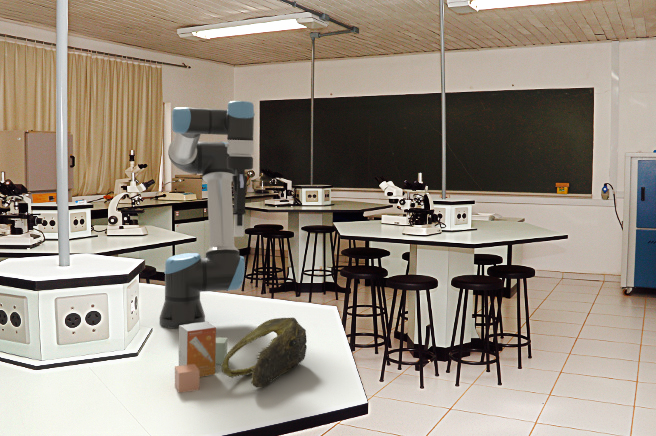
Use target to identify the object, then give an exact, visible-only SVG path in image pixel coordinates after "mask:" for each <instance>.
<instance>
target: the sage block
mask: <svg viewBox="0 0 656 436" xmlns="http://www.w3.org/2000/svg"><path fill="white" fill-rule="evenodd" d="M227 354H228V337H219V336H216V360H215V365H222V363H223V361H224V359H225V357H226V355H227Z"/></svg>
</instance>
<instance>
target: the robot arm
mask: <svg viewBox="0 0 656 436" xmlns="http://www.w3.org/2000/svg"><path fill="white" fill-rule="evenodd" d="M254 121H255V107H254V103H253V102H251V101H246V100H245V101H244V100H231V101H229V102H228V103H227V109H224V108H223V109H220V108H202V107H201V108H199V107H187V106H186V107H185V106H184V107H174V108H173V109H172V112H171V130H172V131H173V132H174V133H175V134H174V138H173V140H172V141H171V143H170V144H169V146H168V149H167V155H168V158H169V160H170V162H171V163H172V164H173V165H174V166H175V168H177V169H179V170H181V171H182V172H185V173H188V174H194V175H195V174H196V175H202V180H203V181H204V182H205V183H206V186H207V187H206V188H207V190H206V191H207V211H208V234H209V248H208V249H207V251H205V257H201V254H200V253H197V252H187V253H186V252H185V253H180V254H176V255H173V256H169V257H168V258H167V259H166V260H165V264H164V272H163V273H164V274H165V275H164V302H163V306H162V308H161V311H160V315H159V325H161V326H162V327H164V328H170V329H179V325H186V324H192V323H201V322H206V315H205V310H204V309H203V304H202V302H201V293H202V292H222V291H223V292H224V291H226V292H228V291H237V290H239V289H240V288H241V287H242V285H243V282H244V278H245V277H244V276H245V272H246V271H245V270H246V269H245V268H246V267H245V266H246V265H245V264H246V263H245V262H246V261H245V257H244V256H242V255H240V250H239V249H238V248H237V247H236V245H235V238H242V237H245V214H246V193H247V184H248V176H247V175H246V171H248V170H253V169H254V157H253V156H252V155H254V146H255V145H254V144H255V143H254V142H255V141H254V131H255V130H254V128H255V127H254V126H255V124H254V123H255V122H254ZM201 135H218V136H219V135H222V136H223V135H225V136H227V138H226V140H227V141H226V142H225V141H199V140H200V138H201ZM232 184H233V186H232ZM232 192H233V193H232ZM232 195H233V196H232Z"/></svg>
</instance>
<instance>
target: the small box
mask: <svg viewBox="0 0 656 436" xmlns="http://www.w3.org/2000/svg"><path fill="white" fill-rule="evenodd" d="M216 337H217V327H216V326H215V325H213V324H212V323H210V322H209V321H205V322H201V323H192V324H186V325H179V328H178V366H182V365H190V364H195V365H196V366H197V368H198V369H199V378H202V377H209V376H213V375H215V374H216V364H215V360H216Z"/></svg>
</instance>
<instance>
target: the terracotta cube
mask: <svg viewBox="0 0 656 436" xmlns="http://www.w3.org/2000/svg"><path fill="white" fill-rule="evenodd" d="M174 387H175V389H176V390H177V392H178V393H186V392H193V391H198V390H199V391H200V377H199V369H198V368H197V366H196V365H195V364H190V365H182V366H179V365H177V366H174Z"/></svg>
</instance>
